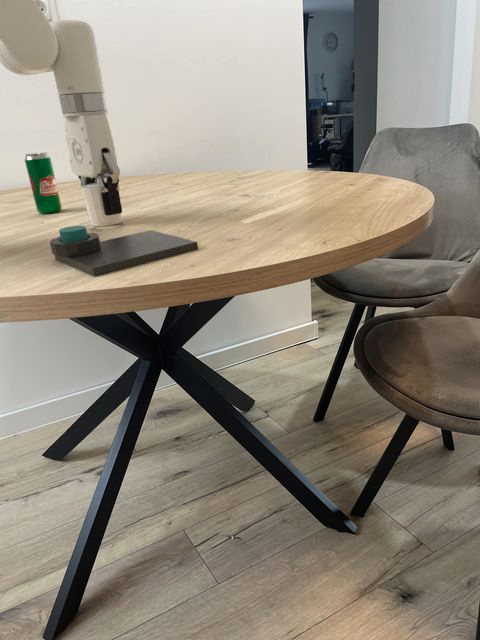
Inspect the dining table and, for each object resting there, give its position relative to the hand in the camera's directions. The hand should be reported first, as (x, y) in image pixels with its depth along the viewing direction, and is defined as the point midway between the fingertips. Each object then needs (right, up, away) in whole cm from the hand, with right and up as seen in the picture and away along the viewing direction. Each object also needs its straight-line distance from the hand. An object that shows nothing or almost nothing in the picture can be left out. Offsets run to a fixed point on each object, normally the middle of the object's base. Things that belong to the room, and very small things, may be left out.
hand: (104, 211), depth 95 cm
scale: (+10, -12, -21) cm, 27 cm away
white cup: (0, -2, +1) cm, 2 cm away
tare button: (+3, -10, -23) cm, 26 cm away
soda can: (-17, +4, +16) cm, 23 cm away
